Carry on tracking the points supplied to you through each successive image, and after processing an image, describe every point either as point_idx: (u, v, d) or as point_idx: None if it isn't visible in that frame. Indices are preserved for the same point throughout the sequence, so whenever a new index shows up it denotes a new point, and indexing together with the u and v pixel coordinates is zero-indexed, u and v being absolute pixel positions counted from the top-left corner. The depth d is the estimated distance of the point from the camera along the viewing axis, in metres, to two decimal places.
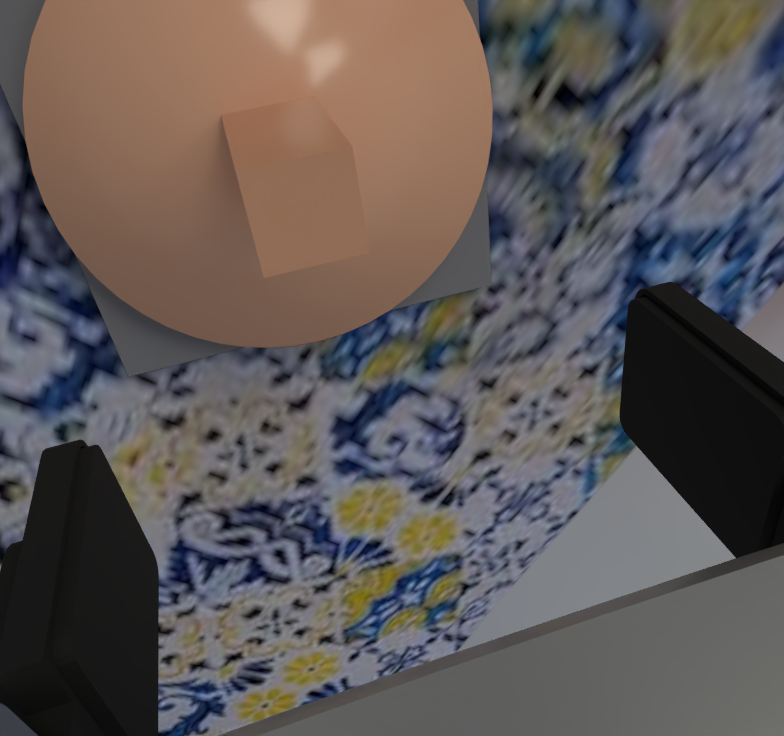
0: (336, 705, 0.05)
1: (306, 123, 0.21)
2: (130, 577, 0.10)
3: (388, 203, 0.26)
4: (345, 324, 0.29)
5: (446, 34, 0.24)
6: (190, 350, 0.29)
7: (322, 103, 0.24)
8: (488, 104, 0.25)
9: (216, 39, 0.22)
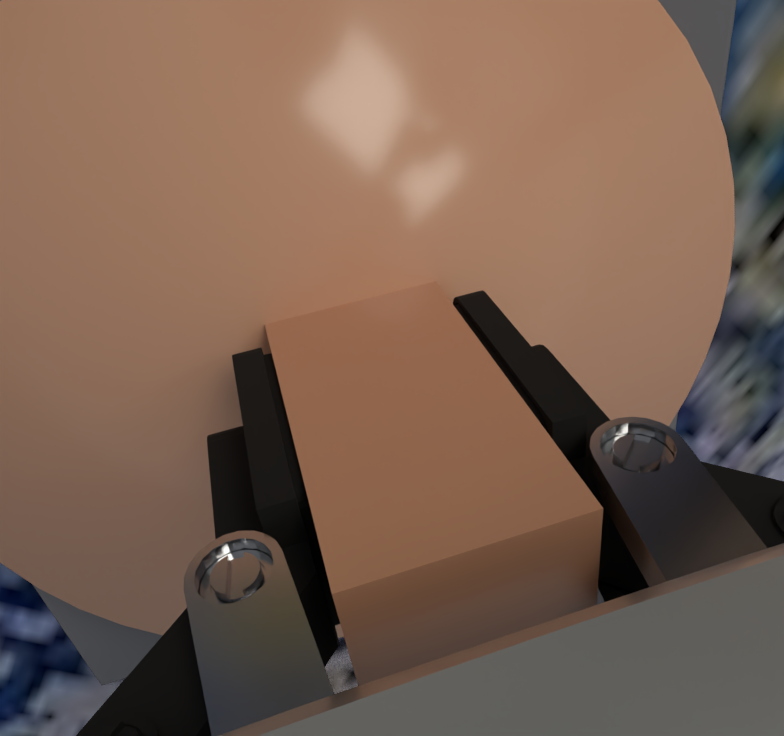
0: (336, 705, 0.05)
1: (452, 383, 0.10)
2: None
3: None
4: None
5: (677, 166, 0.13)
6: None
7: (448, 291, 0.13)
8: (724, 272, 0.15)
9: (259, 197, 0.11)
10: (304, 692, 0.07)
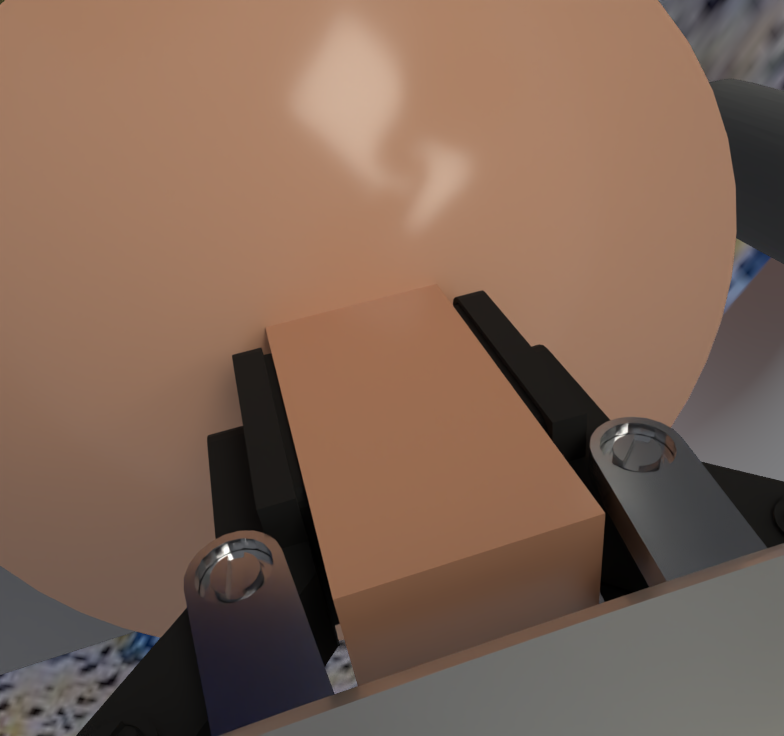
0: (336, 705, 0.05)
1: (453, 387, 0.10)
2: None
3: None
4: None
5: (678, 168, 0.13)
6: (0, 667, 0.36)
7: (449, 294, 0.13)
8: (726, 275, 0.14)
9: (260, 201, 0.11)
10: (304, 691, 0.07)
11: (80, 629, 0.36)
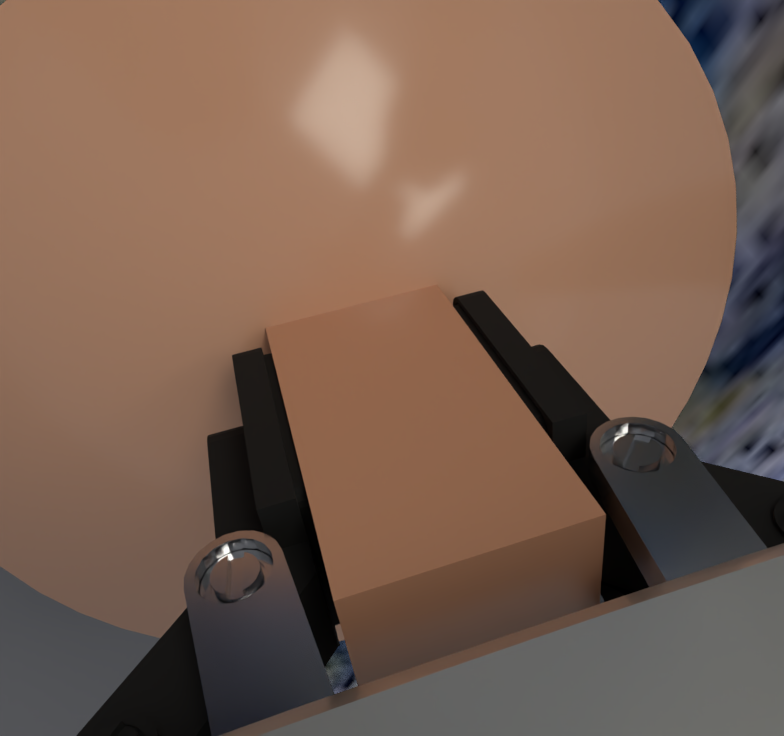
0: (336, 705, 0.05)
1: (453, 387, 0.10)
2: None
3: None
4: None
5: (678, 169, 0.13)
6: None
7: (450, 295, 0.13)
8: (726, 275, 0.14)
9: (260, 201, 0.11)
10: (304, 691, 0.07)
11: None
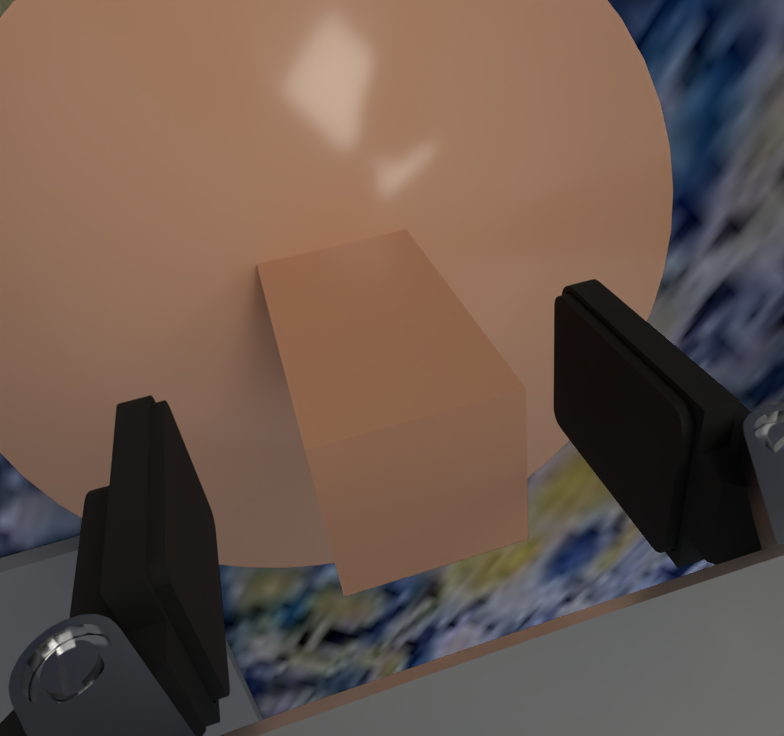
0: (336, 706, 0.05)
1: (413, 305, 0.12)
2: (197, 524, 0.11)
3: None
4: None
5: (617, 130, 0.15)
6: None
7: (418, 239, 0.15)
8: (666, 228, 0.16)
9: (252, 150, 0.13)
10: None
11: None
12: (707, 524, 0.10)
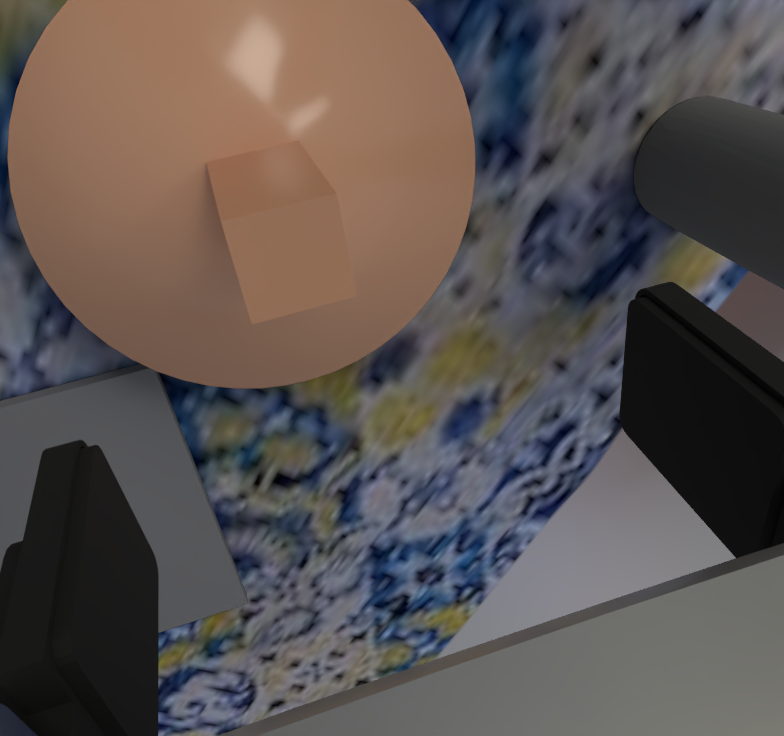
0: (336, 705, 0.05)
1: (291, 170, 0.21)
2: (130, 577, 0.10)
3: (374, 242, 0.27)
4: (335, 362, 0.29)
5: (426, 77, 0.24)
6: None
7: (306, 147, 0.24)
8: (471, 143, 0.26)
9: (199, 89, 0.22)
10: None
11: None
12: None
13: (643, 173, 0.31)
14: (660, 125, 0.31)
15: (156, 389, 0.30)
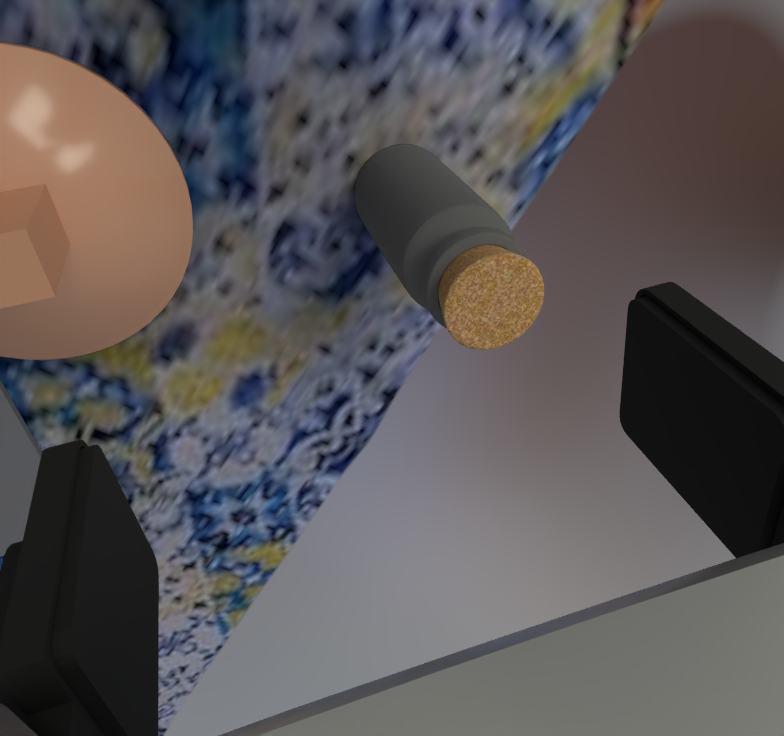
0: (336, 705, 0.05)
1: (18, 208, 0.31)
2: (130, 577, 0.10)
3: (118, 256, 0.36)
4: (101, 343, 0.39)
5: (139, 142, 0.34)
6: None
7: (52, 188, 0.34)
8: (184, 187, 0.35)
9: None
10: None
11: None
12: None
13: (356, 203, 0.41)
14: (365, 166, 0.40)
15: None
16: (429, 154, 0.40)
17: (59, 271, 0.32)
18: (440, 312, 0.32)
